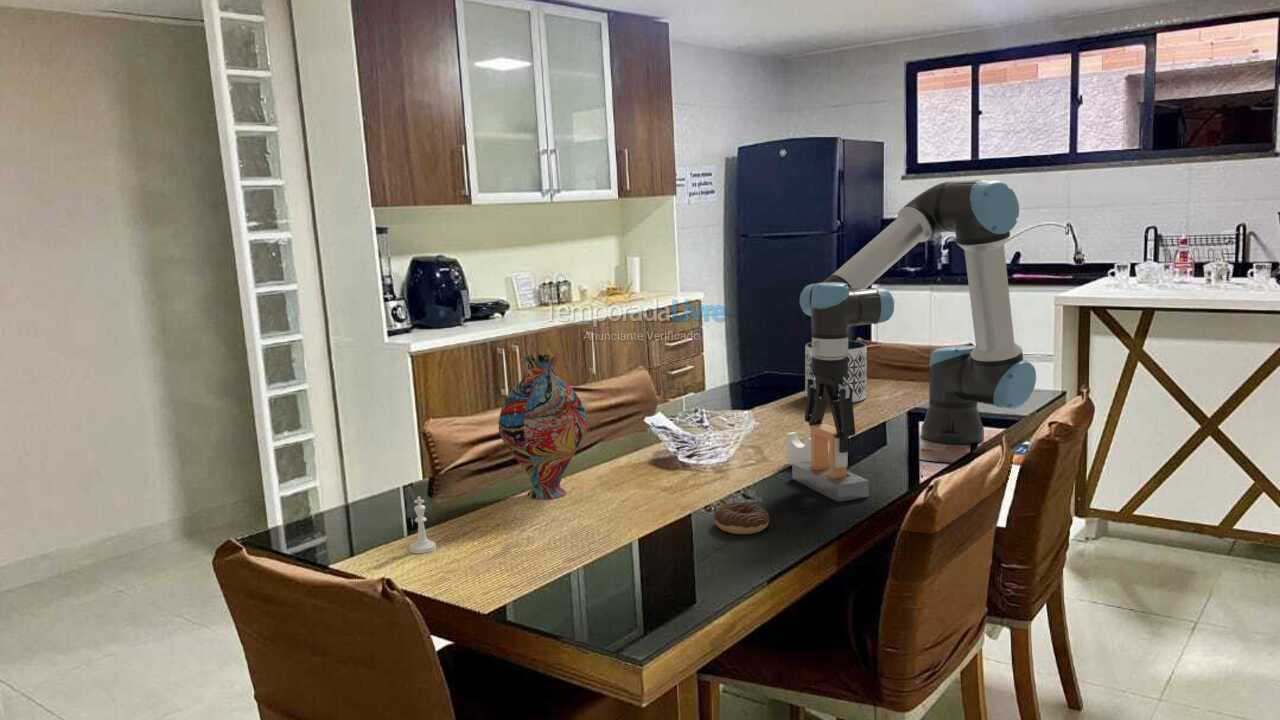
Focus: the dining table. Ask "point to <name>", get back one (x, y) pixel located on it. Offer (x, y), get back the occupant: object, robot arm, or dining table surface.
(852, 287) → the robot arm
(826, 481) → the grey slotted block
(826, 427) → the clip
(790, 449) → the bracket
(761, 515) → the donut
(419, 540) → the chess piece
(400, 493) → the dining table surface
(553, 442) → the vase
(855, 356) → the planter
